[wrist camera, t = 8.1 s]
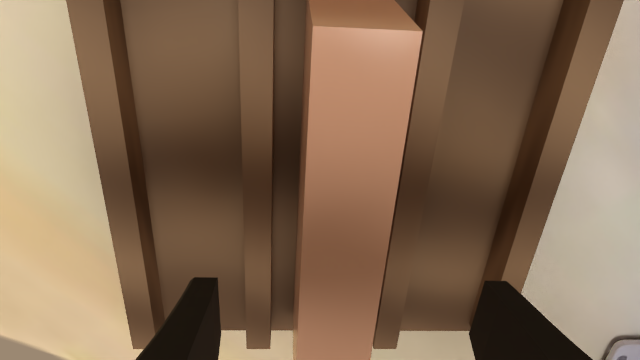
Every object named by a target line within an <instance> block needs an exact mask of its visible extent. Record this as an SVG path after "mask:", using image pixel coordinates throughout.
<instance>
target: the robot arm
mask: <svg viewBox="0 0 640 360" xmlns="http://www.w3.org/2000/svg"><path fill="white" fill-rule="evenodd" d="M469 336H470V340H471V344H472V348H473V352H474V356H475V360H593V359H591V358H590V357H589V356H588V355H587V354H585V353H584V352H583V351H582V350H581V349H580V348H578V347H577V346H576V345H575V344H574V343H573V342H572V341H570V340H569V339H568V338H567V337H566V336H565V335H564V334H563V333H562V332H561V331H559V330H558V329H557V328H556V327H555V326H554V325H553V324H552V323H551V322H550V321H549V320H548V319H546V318H545V317H544V316H543V315H542V314H541V313H540V312H539V311H538V310H537V309H536V308H535V307H534V306H533V305H532V304H531V303H530V302H529V301H528V300H527V299H526V298H524V297H523V296H522V295H521V294H520V293H519V292H518V291H517V290H516V289H515V288H514V287H513V286H512V285H511V284H509V283H508V282H507V281H484V285H483V288H482V292H481V295H480V298H479V302H478V305H477V308H476V312H475V315H474V319H473V322H472V325H471V329H470V332H469ZM220 338H221V323H220V307H219V290H218V277H194V278H193V279H191V280H190V282H189V284H188V285H187V287H186V289H185V291H184V292H183V294H182V296H181V297H180V299H179V301H178V302H177V304H176V305H175V307H174V308H173V310H172V311H171V313H170V314H169V316H168V317H167V319H166V320H165V322H164V323H163V324H162V326H161V327H160V329H159V330H158V331H157V333H156V334H155V336H154V337H153V338H152V340H151V341H150V342H149V344H148V345H147V346H146V347H145V348H144V350H143V351H142V352H141V353H140V355H139V356H138V357H137V358H136V360H218V356H219V347H220ZM606 360H640V340H620V341H617V342H616V343H614V345H613V346H612V348H611V350H610V352H609V354H608V356H607V358H606Z"/></svg>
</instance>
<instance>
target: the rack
mask: <svg viewBox="0 0 640 360" xmlns="http://www.w3.org/2000/svg"><path fill="white" fill-rule="evenodd" d="M395 1H396V2H397V4H398V5H399V6H400V7H401V8H402V9H403V10H404V11H405V12H406V13H407V15H408V16H409V17H410V18H411V19H412V20H413V21H414V22H415V23H416V24H417V25H418V27H419V28H420V29H421V30H422V31H423V33H422V39H421V45H420V52H419V58H418V64H417V70H416V77H415V83H414V89H413V95H412V101H411V108H410V114H409V120H408V126H407V133H406V139H405V145H404V151H403V158H402V164H401V170H400V176H399V182H398V189H397V195H396V201H395V207H394V214H393V220H392V226H391V232H390V239H389V245H388V251H387V257H386V264H385V270H384V276H383V282H382V288H381V295H380V301H379V307H378V313H377V320H376V326H375V332H374V338H373V348H374V349H396V347H397V342H398V337H399V332H400V331H470V329H471V325H472V322H473V319H474V315H475V312H476V308H477V305H478V302H479V298H480V295H481V292H482V288H483V285H484V281H507V282H508V283H509V284H511V285H512V286H513V287H514V288H515V289H516V290H517V291H518V292H519V293H520V294H521V291H522V288H523V286H524V283H525V280H526V277H527V274H528V271H529V269H530V266H531V263H532V260H533V257H534V254H535V251H536V249H537V246H538V243H539V240H540V237H541V234H542V232H543V229H544V226H545V223H546V220H547V217H548V214H549V212H550V209H551V206H552V203H553V200H554V197H555V195H556V192H557V189H558V186H559V183H560V180H561V177H562V175H563V172H564V169H565V166H566V163H567V160H568V158H569V155H570V152H571V149H572V146H573V143H574V140H575V138H576V135H577V132H578V129H579V126H580V123H581V121H582V118H583V115H584V112H585V109H586V106H587V103H588V101H589V98H590V95H591V92H592V89H593V86H594V84H595V81H596V78H597V75H598V72H599V69H600V66H601V64H602V61H603V58H604V55H605V52H606V49H607V47H608V44H609V41H610V38H611V35H612V32H613V29H614V27H615V24H616V21H617V18H618V15H619V12H620V10H621V7H622V4H623V1H624V0H395ZM66 2H67V7H68V12H69V17H70V23H71V28H72V33H73V38H74V43H75V49H76V54H77V59H78V64H79V69H80V75H81V80H82V85H83V90H84V95H85V101H86V106H87V111H88V116H89V121H90V127H91V132H92V137H93V142H94V148H95V153H96V158H97V163H98V168H99V174H100V179H101V184H102V189H103V194H104V200H105V205H106V210H107V215H108V220H109V226H110V231H111V236H112V241H113V246H114V252H115V257H116V262H117V267H118V272H119V278H120V283H121V288H122V293H123V298H124V304H125V309H126V314H127V319H128V324H129V330H130V335H131V340H132V345H133V349H144V348H145V347H146V346H147V345H148V344H149V342H150V341H151V340H152V338H153V337H154V336H155V334H156V333H157V331H158V330H159V329H160V327H161V326H162V324H163V323H164V322H165V320H166V319H167V317H168V316H169V314H170V313H171V311H172V310H173V308H174V307H175V305H176V304H177V302H178V301H179V299H180V297H181V296H182V294H183V292H184V291H185V289H186V287H187V285H188V284H189V282H190V280H191V279H193V278H194V277H218V290H219V307H220V323H221V330H246V341H247V349H270V340H271V330H293V302H294V278H295V254H296V230H297V206H298V183H299V159H300V135H301V111H302V87H303V63H304V39H305V15H306V0H66Z"/></svg>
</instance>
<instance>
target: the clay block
mask: <svg viewBox="0 0 640 360" xmlns="http://www.w3.org/2000/svg"><path fill="white" fill-rule="evenodd" d="M422 33H423V31H422V30H421V29H420V28H419V27H418V25H417V24H416V23H415V22H414V21H413V20H412V19H411V18H410V17H409V16H408V15H407V13H406V12H405V11H404V10H403V9H402V8H401V7H400V6H399V5H398V4H397V2H396V1H395V0H306V15H305V39H304V63H303V87H302V111H301V135H300V159H299V183H298V206H297V230H296V254H295V278H294V302H293V360H370V357H371V351H372V345H373V338H374V332H375V326H376V320H377V313H378V307H379V301H380V295H381V288H382V282H383V276H384V270H385V264H386V257H387V251H388V245H389V239H390V232H391V226H392V220H393V214H394V207H395V201H396V195H397V189H398V182H399V176H400V170H401V164H402V158H403V151H404V145H405V139H406V133H407V126H408V120H409V114H410V108H411V101H412V95H413V89H414V83H415V77H416V70H417V64H418V58H419V52H420V45H421V39H422Z"/></svg>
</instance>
